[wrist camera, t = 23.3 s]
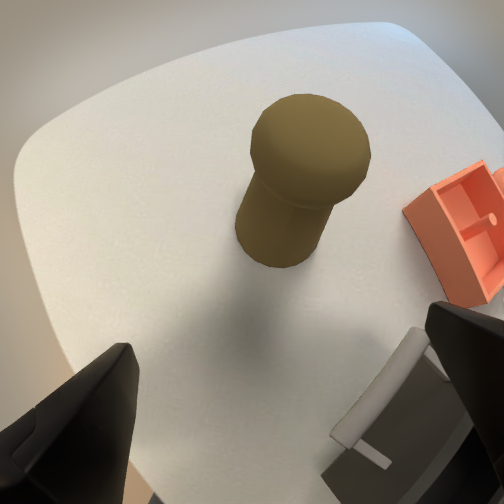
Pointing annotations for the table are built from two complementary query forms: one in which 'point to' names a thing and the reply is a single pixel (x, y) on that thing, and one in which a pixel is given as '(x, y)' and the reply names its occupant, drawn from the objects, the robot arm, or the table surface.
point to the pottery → (464, 233)
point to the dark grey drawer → (411, 438)
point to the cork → (299, 176)
